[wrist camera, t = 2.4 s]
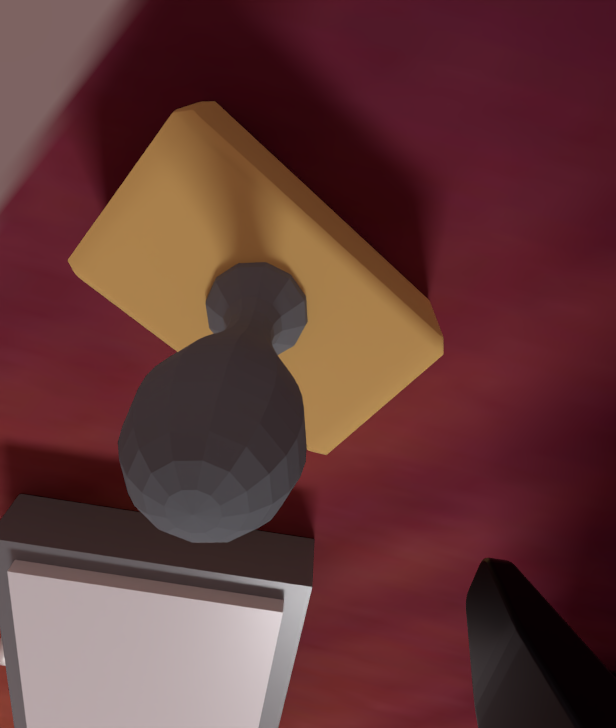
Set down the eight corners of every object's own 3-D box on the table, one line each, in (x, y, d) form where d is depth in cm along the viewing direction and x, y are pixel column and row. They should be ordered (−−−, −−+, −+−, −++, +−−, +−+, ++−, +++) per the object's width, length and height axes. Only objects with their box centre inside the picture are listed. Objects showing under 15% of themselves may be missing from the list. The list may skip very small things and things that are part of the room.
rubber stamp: (105, 233, 19) (-177, 446, 9) (208, 92, 17) (-2, 146, 6) (322, 404, 22) (308, 722, 12) (434, 302, 20) (545, 579, 9)
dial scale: (314, 539, 25) (311, 599, 22) (268, 739, 33) (261, 803, 30) (6, 491, 25) (-36, 547, 22) (31, 706, 32) (2, 768, 29)
